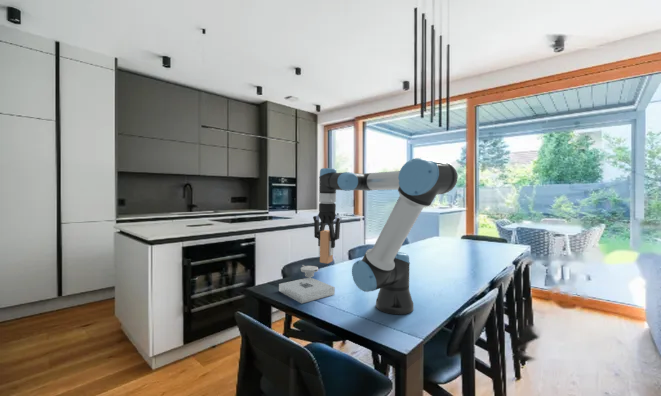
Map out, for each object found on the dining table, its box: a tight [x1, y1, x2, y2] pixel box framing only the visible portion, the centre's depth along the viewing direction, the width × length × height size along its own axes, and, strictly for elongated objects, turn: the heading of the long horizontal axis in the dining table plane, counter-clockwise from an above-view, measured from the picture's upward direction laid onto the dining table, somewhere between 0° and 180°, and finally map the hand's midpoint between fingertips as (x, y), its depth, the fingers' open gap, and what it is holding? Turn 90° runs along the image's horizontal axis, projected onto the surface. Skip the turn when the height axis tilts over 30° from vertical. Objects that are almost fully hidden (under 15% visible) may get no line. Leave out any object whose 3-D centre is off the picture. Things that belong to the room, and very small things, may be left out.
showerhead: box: [300, 264, 319, 278], centre depth 162 cm, size 9×7×10 cm
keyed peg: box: [319, 229, 334, 264], centre depth 135 cm, size 5×4×14 cm
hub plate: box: [278, 277, 336, 305], centre depth 140 cm, size 20×18×4 cm
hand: (326, 254), depth 135 cm, fingers closed on keyed peg, 4 cm apart
